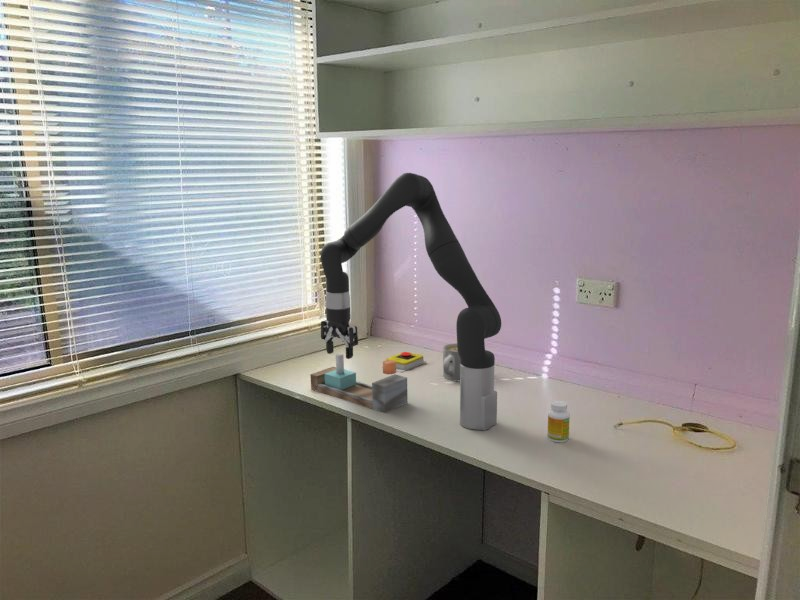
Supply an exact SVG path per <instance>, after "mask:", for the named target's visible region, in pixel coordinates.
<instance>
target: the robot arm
mask: <svg viewBox="0 0 800 600" xmlns="http://www.w3.org/2000/svg"><path fill="white" fill-rule="evenodd" d="M404 207H410V208H411V209H412V210H413V211H414V213H415V215H416V216H417V218H418V219H419V221H420V223H421V227H422V229H423V233H424V244H425V250H426V252H427V253H426V254H427V256H428V258H429V260H430V261H431V264H432V265H433V268H434V270H435V271H436V272H437V274H438V275H439V276H440V277H441V278H442V279H443V281H445V282H446V283H448V284H449V285H450V286H451V287H452V288H453V289H454V290H456V291H457V292H458V293H459V295H460V296H461V297H462V299H463V300H464V301H465V304H466V305H467V307H465V308H463V309H462V310H460V312H459V313H458V315H457V319H456V327H455V328H456V343H457V349H458V354H459V356H460V381H459V384H460V385H459V387H460V388H459V423H460V426H462V427H463V428H467V429H469V430H475V431H476V430H479V431H480V430H481V431H487V430H488V429H490V428H492V427H493V425H494V426H495V425H497V422H498V421H497V419H498V418H497V416H498V391H496V390H495V366H496V365H495V364H496V362H495V361H496V360H495V354H494V353H493V352H492V351H490V350H486V345H485V339H488V338H492V337H494V336H497V335H498V334H499V333H500V331H501V328H502V318H501V315H500V312H499V311H498V309H497V307H496V305H495V304H494V302H493V301H492V299H491V297H490V296H489V294H488V292H487V291H486V290H485V288H484V287H483V285H482V283H481V282H480V280H479V279H478V276H477V275H476V272H475V271H474V269H473V267H472V265H471V264H470V262H469V260H468V258H467V255H466V254H465V251H464V249H463V247H462V246H461V243H460V241H459V239H458V238H457V236H456V234H455V233H454V230H453V229H452V226H451V224H450V222H449V221H448V220H447V218H446V215H445V214H444V212H443V209H442V207H441V204H440V202H439V199H438V196H437V194H436V191H435V189H434V186H433V184H432V183H431V181H430V180H429V179H428V178H426V177H425V176H423V175H420V174H417V173H412V172H405V173H402V174H400V175H399V176H398V177H397V178H396V179H395V180H394V181H393V182H392V183H391V184H390V185H389V187H387V188H386V190H385V191H384V193H383V194H382V195H380V197H379V198H378V199H377V201H375V202H374V203H373V205H372V206H371V207H370V208H369V209H368V210H367V211H365V213H364V214H363V215H361V216H360V217H359V218H357V219H356V220H355V221H354V222H353V223H352V224H351V225H350V226H349V227H348V228H346V229H345V231H344V233H343V235H342V236H341V237H340V238H338V239H337V240H334V241H330V242H327V243H325V244H324V245H323V247H322V249H321V250H320V251H321V252H320V263H321V267H322V270H323V274H324V276H325V292H326V293H325V318H326V320H325V319H324V320H322V321H320V338H321V340H324V342H325V347H326V349H325V350H326V353H327V354H334V351H335V350H334V341H333V340H334V339H335V338H337V339H340V341H341V342H342V343H343V344H344V345H345V359H348V360H349V359H352V358H353V357H354V347H355V346H358V345H359V338H358V337H359V336H358V326H357V325H356V326H355V325H354V326H350V320H351V319H352V318H351V295H350V281H349V280H350V279H349V278H350V277H349V274H348V273H347V272H346V271H344V270H343V265H342V264H344V263H346V262H348V261H349V260H351V259H352V258H353V257H354V256H355V255H356V254H357V253H358V251H360V249H361V248H362V247H364V246H366V244H368V243H369V242H370V241H371V240H372V239H374V237H376V236H378V234H379V233H380V231H381V230H382V229H383V227H384V225H385V224H386V222H387V220H388V219H389V218H390V217H391V216H392V215H393V214H394V213H396V212H397V211H399V210H400V209H403V208H404Z"/></svg>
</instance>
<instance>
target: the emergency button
mask: <svg viewBox="0 0 800 600" xmlns="http://www.w3.org/2000/svg"><path fill="white" fill-rule="evenodd" d="M387 360H393V361H396V372H397V371H398V372H397V373H405V372H407V371H409V370H411V369H413V367H414V368H416V367H418V366H421V365H423V364H425V363H426V362H427V361H426V360H424V355H422V354H416V353H413V352H407V351H402V352H400V353H397V354H394V355H392V356H390V357H387V358H386V360H385V361H387ZM420 364H421V365H420ZM415 366H416V367H415ZM381 368H382V369H383V366H382V367H381ZM406 370H407V371H406Z"/></svg>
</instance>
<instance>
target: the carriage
mask: <svg viewBox="0 0 800 600" xmlns="http://www.w3.org/2000/svg"><path fill="white" fill-rule="evenodd" d="M344 357H345V356H344V354H343V353H337V354H335V367H336V370H334V371H331V372H328V373H325V385H326V386H329V387H333V388H336V389H339V390H343V389H346V388H349V387H351V386H354V385H356V381H357V372H355V371H351V370H347V369H345V367H344V366H345V365H344V364H345V363H344V362H345V361H344Z"/></svg>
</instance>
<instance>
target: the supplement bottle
mask: <svg viewBox="0 0 800 600" xmlns="http://www.w3.org/2000/svg"><path fill="white" fill-rule="evenodd" d="M550 404H551V405H550V408H551V409H549V411H548V416H547V439H548V440H549V441H551V442H554V443H565V442H567V441H568V440H569V438H570V420H571V419H570V418H571V417H570V412H569V411H568V403H567V402H566V401H562V400H554V401H552V402H551V403H550Z"/></svg>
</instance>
